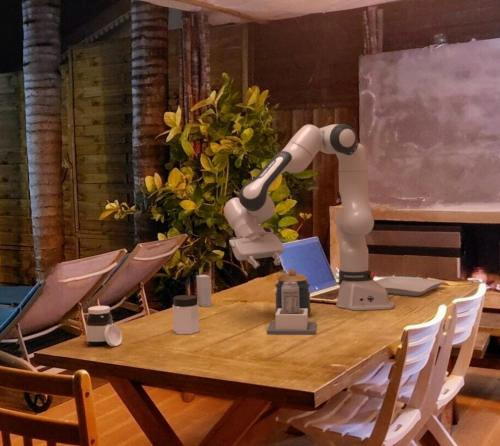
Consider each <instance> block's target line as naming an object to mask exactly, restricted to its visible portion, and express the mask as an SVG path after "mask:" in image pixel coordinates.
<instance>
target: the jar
mask: <svg viewBox="0 0 500 446" xmlns="http://www.w3.org/2000/svg"><path fill="white" fill-rule="evenodd" d="M172 300H173V304H172V324H173V325H172V326H173V329H172V330H173V331H172V332H174V333H175V334H177V335H193V334H196V333H199V332H200V313H199V311H200V309H199V308H200V307H199V306H200V305H199V304H198V295H197V296H196V295H194V294H181V295H175V296H174V297H173V298H172Z"/></svg>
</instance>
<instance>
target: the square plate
mask: <svg viewBox="0 0 500 446" xmlns="http://www.w3.org/2000/svg"><path fill="white" fill-rule="evenodd" d="M375 281H376V282H377V283H379V284H380V285H381V286H383V287H384V288H385V289H386V291H387V293H388V295H395V296H396V295H397V296H405V297H406V296H407V297H418V296H421V295H423V294H426V293H428V292H430V291H432V290H434V289H437V288H439V287H440V286H442V285H443V283H445V281H444V280H437V279H429V278H419V277H406V276H405V277H404V276H385V277H382V278H379V279H377V280H375Z"/></svg>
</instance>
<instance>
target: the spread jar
mask: <svg viewBox="0 0 500 446" xmlns="http://www.w3.org/2000/svg"><path fill="white" fill-rule="evenodd" d="M110 310H111V307H110V306H109V305H95V306H90V307H88V308H87V311H88V314H87V317H86V325H85V326H86V340H87V343H88V345H90V346H93V347H102V346H103V347H104V346H107V345H109V346H110V347H117V346H120V345H121V344H122V342H123V333H122V330H121V328H120V327H119V326H118V325H116V324H113V316H112V314H111V311H110Z"/></svg>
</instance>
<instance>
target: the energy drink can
mask: <svg viewBox="0 0 500 446" xmlns="http://www.w3.org/2000/svg"><path fill="white" fill-rule="evenodd" d="M281 294H282V314H299V286H298V284H297V282H294V281H287V282H283V285H282V287H281Z"/></svg>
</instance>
